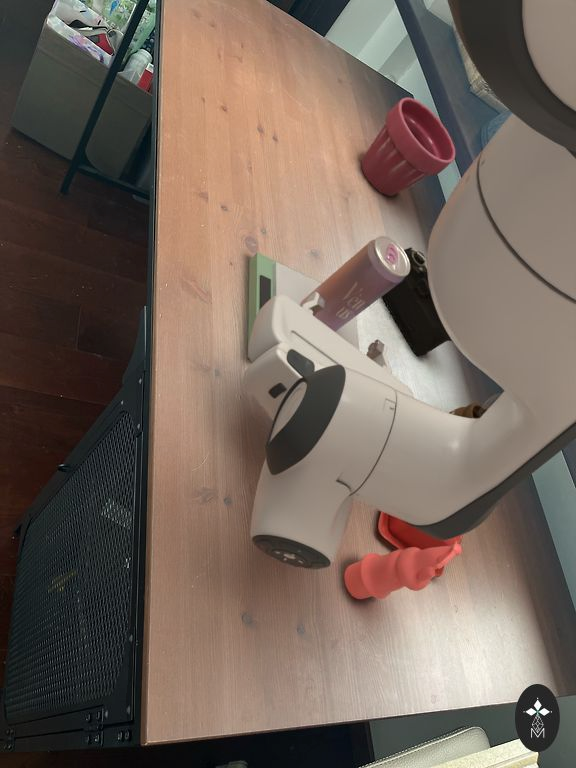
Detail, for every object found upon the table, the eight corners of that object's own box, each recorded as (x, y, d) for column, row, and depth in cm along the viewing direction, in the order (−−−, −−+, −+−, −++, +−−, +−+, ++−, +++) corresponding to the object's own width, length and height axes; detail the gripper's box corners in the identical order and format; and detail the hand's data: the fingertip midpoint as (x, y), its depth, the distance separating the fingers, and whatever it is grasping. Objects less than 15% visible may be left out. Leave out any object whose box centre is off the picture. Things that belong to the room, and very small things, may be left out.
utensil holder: (460, 431, 96) (525, 400, 88) (457, 464, 92) (525, 434, 84) (433, 411, 94) (497, 377, 86) (429, 443, 90) (496, 410, 82)
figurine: (358, 615, 69) (463, 588, 58) (332, 576, 69) (433, 542, 59) (380, 588, 72) (483, 559, 62) (356, 551, 73) (455, 515, 62)
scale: (247, 358, 76) (259, 347, 74) (249, 260, 84) (260, 248, 82) (352, 397, 84) (365, 388, 83) (344, 304, 93) (356, 295, 91)
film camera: (449, 334, 107) (496, 305, 101) (427, 368, 98) (476, 339, 92) (384, 255, 106) (427, 220, 99) (355, 282, 97) (400, 246, 90)
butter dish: (387, 463, 83) (435, 440, 77) (446, 510, 86) (496, 492, 80) (368, 534, 75) (420, 515, 69) (434, 584, 78) (488, 569, 72)
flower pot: (393, 219, 113) (446, 172, 105) (340, 161, 111) (390, 109, 102) (413, 190, 123) (463, 146, 115) (365, 137, 121) (412, 88, 112)
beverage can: (334, 317, 85) (413, 255, 75) (327, 347, 81) (409, 286, 71) (301, 292, 83) (377, 225, 73) (292, 322, 79) (371, 255, 69)
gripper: (421, 454, 63) (432, 359, 72) (263, 342, 56) (297, 253, 65) (379, 474, 68) (394, 382, 77) (227, 372, 61) (263, 285, 70)
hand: (348, 322), depth 71 cm, fingers open, 8 cm apart
